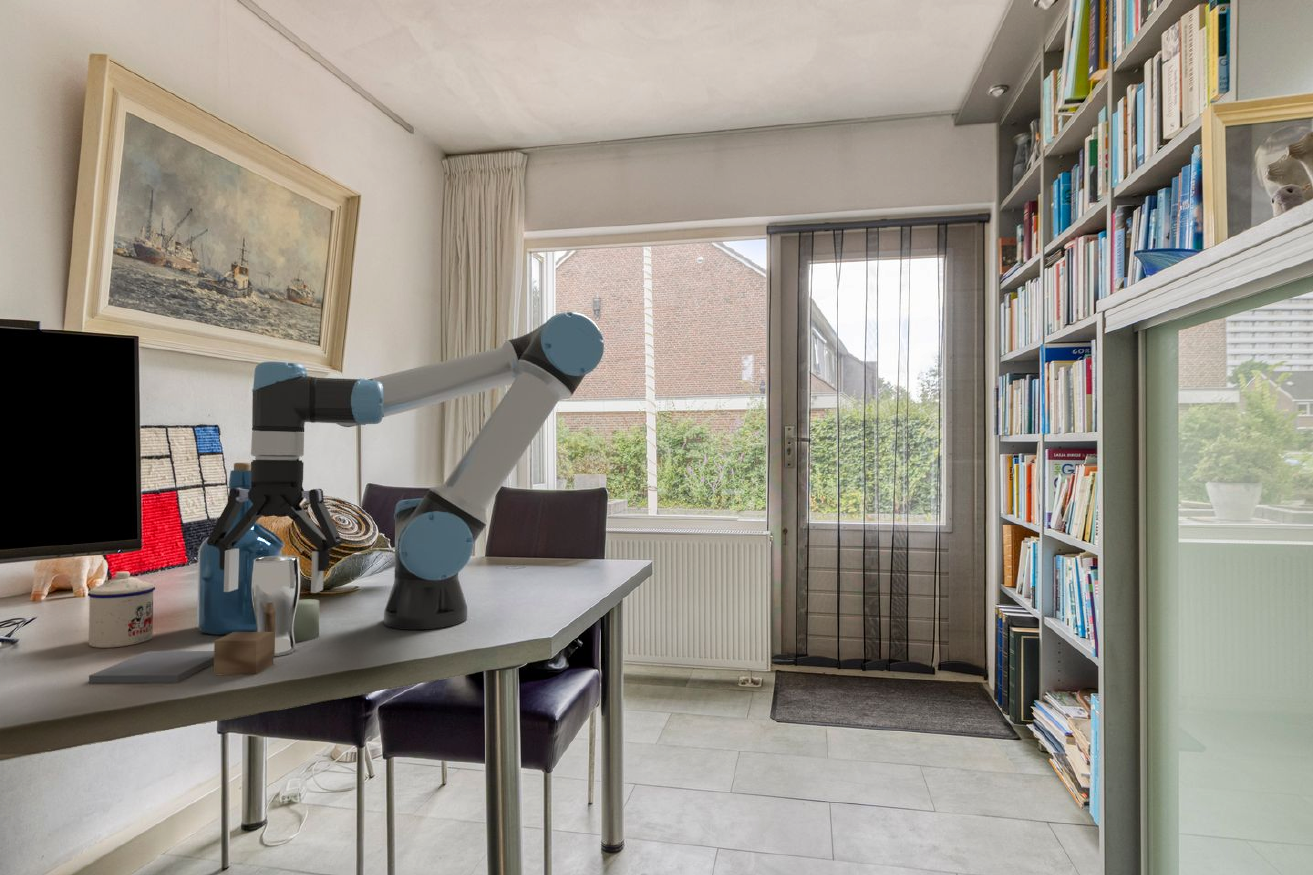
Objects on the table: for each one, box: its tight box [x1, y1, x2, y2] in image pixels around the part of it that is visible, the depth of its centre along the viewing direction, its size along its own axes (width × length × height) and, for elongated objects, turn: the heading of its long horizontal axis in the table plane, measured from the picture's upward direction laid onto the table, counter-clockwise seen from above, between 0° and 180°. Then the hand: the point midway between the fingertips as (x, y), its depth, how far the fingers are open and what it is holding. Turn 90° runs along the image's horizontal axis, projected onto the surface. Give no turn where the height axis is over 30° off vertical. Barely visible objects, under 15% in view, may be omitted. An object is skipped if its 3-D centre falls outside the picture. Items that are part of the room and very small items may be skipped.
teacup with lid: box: [87, 570, 156, 649], centre depth 122 cm, size 12×9×12 cm
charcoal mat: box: [88, 650, 214, 684], centre depth 105 cm, size 12×12×1 cm
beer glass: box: [251, 554, 301, 658], centre depth 115 cm, size 7×7×15 cm
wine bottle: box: [196, 462, 285, 636], centre depth 131 cm, size 14×13×30 cm
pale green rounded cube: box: [294, 598, 320, 643], centre depth 124 cm, size 6×6×6 cm
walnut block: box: [213, 631, 275, 676], centre depth 106 cm, size 6×5×5 cm
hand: (274, 591), depth 115 cm, fingers open, 13 cm apart
